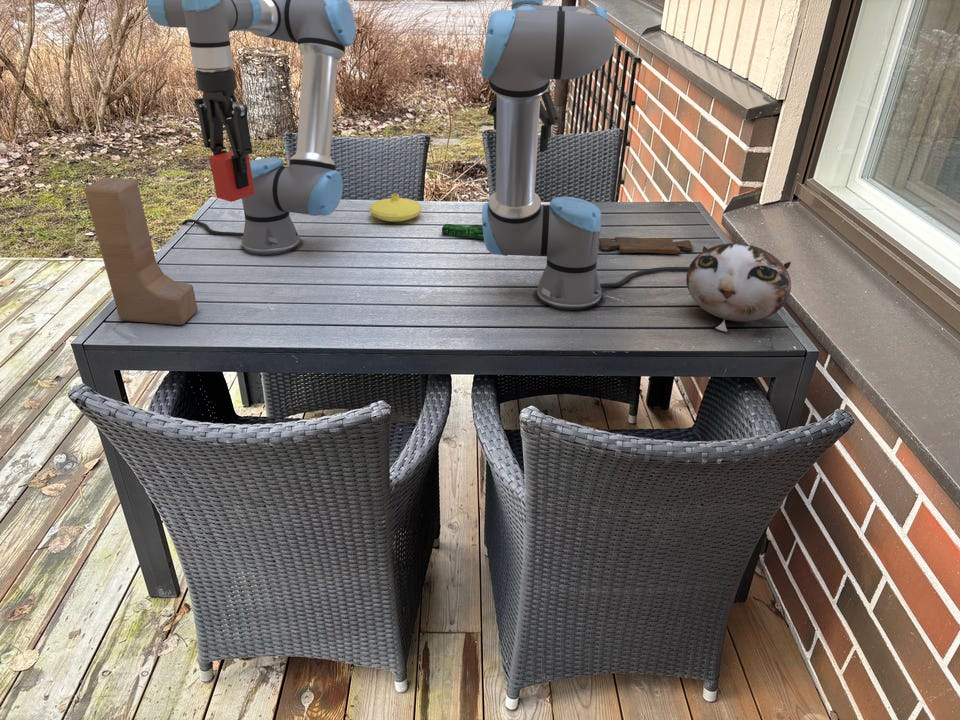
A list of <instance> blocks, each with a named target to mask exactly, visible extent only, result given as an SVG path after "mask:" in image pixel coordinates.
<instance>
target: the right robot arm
mask: <svg viewBox="0 0 960 720" xmlns="http://www.w3.org/2000/svg"><path fill="white" fill-rule="evenodd" d="M510 6H511V8H510V9H501V10H500V9H499V10H495V11H494V10H493V12H492V13H490V15H489V17H488V20H487V26H486V34H485V42H484V48H483V49H484V50H483V55H482V57H483V58H482V66H481V73H480V75H481V77H482V78H484V79H486V80H487V79H488V87H489V89H490V90H491V91H492V92H493V94H494V96H493V98H492V100H491V103H490V105H489V107H488V109H487V115H489V116H492V118H493V130H494V131H495V191H494V192H493V193H492V194H491V195H490V197H489V199H488V202H485V203H483V206H482V211H481V221H482V226H483V236H484V241H483V242H484V246H485V248H486V250H487V252H488V253H490V254H492V255H499V256H505V257H507V256H523V257H546V266H545V268H544V270H543V273H542V275H541V276H540V277H541V278H540V280H539V282H538V285H537V290H536V297H537V299H538V300H539V301H540V302H541V303H542V304H543V305H545V306H548V307H550V308H553V309H558V310H562V311H583V310H588V309H591V308H595V307H596V306H597V305H599V304H600V302H601V301H602V300H601V299H602V289H603V288H616V287H620V286H622V285H624V284H625V283H627V282H628V281H629V280H630V279H632V278H635V277H636V276H641V275H645V274H649V273H657V272H666V271H667V272H669V271H670V272H671V271H683V272H685V271H688V268H689V266H661V267H653V268H646V269H641V270H638V271H635V272H632V273H630V274H628V275H627V276H625V277H624V278H623V279H622V280H620V281H617V282H611V283H609V282H606V283H600V279H599V274H598V270H597V267H598V266H597V264H598V254H599V246H600V244H599V239H600V235H601V234H600V233H601V232H602V212H601V210H600V208H599V207H597V206H596V204H594V203H592V202H590V201H588V200H585V199H582V198H578V197H573V196H555V197H553V198H552V199H551V200H550V202H549V204H542V200H541V198H540V196H539V195H538V193H536V180H537V162H538V146H539V153H543V152H546V151H548V145H549V144H548V143H549V139H551V137H552V126H553V125H557V124H558V123H560V119H559V117H558V113H557V109H556V107H555V104H554V101H553V98H552V96H551V86H550V80H575V79H577V78H578V79H579V78H583V77H585V76H587V75H590V74H593V73H594V72H596V71H597V70H599V69H601V68H602V67H603V66H604V65H606V63H607V62H608V61H609V60H610V58H611V57H612V55H613V54H614V53H613V52H614V49H615V46H616V36H615V32H614V29H613V26H612V25H611V24H610V22H609V21H608V15H607V14H608V13H607V12H608V11H607V9H606V8H605V7H603V6H596V5H590V6H585V5H584V6H583V5H582V6H581V5H580V6H577V5H571V6H570V5H544V0H511V5H510ZM541 100H542V101H541ZM542 102H543V103H542ZM540 120H541V122H542V124H543V125H541V126H540ZM539 127H540V139H539ZM538 144H539V145H538Z"/></svg>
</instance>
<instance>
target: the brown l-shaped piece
mask: <svg viewBox="0 0 960 720" xmlns="http://www.w3.org/2000/svg"><path fill="white" fill-rule="evenodd" d="M83 191H84V194H85V199H86V201H87V206H88V209H89V212H90V217H91V220H92V224H93V227H94V231H95V234H96V238H97V242H98V245H99V249H100V253H101V256H102V260H103V263H104V267H105V270H106V275H107V278H108V283H109V286H110V289H111V292H112V293H111V294H112V297H113V300H114V304H115V308H116V311H117V315H118V318H119V320H120V321H124V322H137V323H150V324H160V325H161V324H162V325H173V326H174V325H175V326H182V325H185V324H186V323H187V322H188V321H189V320H190V319H192V318H193V316H194V315H195V314H196V313H197V312H198V304H197V299H196V293H195V290H194V285H192V283H187V282H182V281H177V280H174V279H172V278H171V277H170V276H167V275H166V274H164V272H163V270H162V269H161V267H160V265H159V264H158V262H157V260H156V257H155V252H154V248H153V245H152V239H151V235H150V231H149V227H148V223H147V218H146V214H145V209H144V206H143V201H142V196H141V192H140V189H139V184H138V181H137V179H133V178H116V177H115V178H114V177H104V178H101V179H99V180H97V181H96V182H93V183H92V184H90V185H87V186H85V187H84V190H83Z"/></svg>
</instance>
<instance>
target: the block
mask: <svg viewBox="0 0 960 720" xmlns="http://www.w3.org/2000/svg"><path fill="white" fill-rule="evenodd" d="M233 155H234V154H233V151H232V150H230V151H227V152H225V153H222V154H218V155H214V156H213V155H211V156H208V157H209V158H208V159H209V165H210V168H211V174H212V180H213V185H214V191H215V196H216V199H220V200H223V201H227V202H230V203H233V202H236V201H239V200H242V198H245V197H248V196H251V195H254V194H255V192H254V186H253V179H252V173H251V166H250V161H251V160H250V154H248V155H246V162H247V169H248V170H247V176H248V182H249V186H246V187H243V188H240V189H238V188H237V187H236V181H235V175H234V169H233V163H232V158H231V156H233Z"/></svg>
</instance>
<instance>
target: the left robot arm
mask: <svg viewBox="0 0 960 720" xmlns="http://www.w3.org/2000/svg"><path fill="white" fill-rule="evenodd" d="M146 5H147V12H148V14H149V16H150V19H151V20H152V21H153V22H154V23H155V24H156V25H158V26H161V27H168V28H183V29H184V28H185V29H186V30H187V35H188V40H189V48H190V54H191V61H192V66H193V67H194V68H195V69H196V70H195V72H194V75H195V76H194V77H195V80H196V87H197V89H198V91H200V92H202V97H199V98H194V100H193V102H194V105H195V107H196V110H197V113H198V114H197V115H198V119H199V124H200V130H201V135H202V141H203V145H204V147H205V148H208V149H210V151H211V153H212V154H213V155H212V156H214V155H218V154H222V153H225V152H228V151H227V150H226V149H227V146H225V145H224V128H225V132H226V136H227V138H228V142H229V144H230V147H231V151H233V154H234V155H233V156H231V158H232V163H233V169H234V175H235V181H236V187H237V188H238V189H240V188H243V187H246V186H249V182H248V176H247V170H248V169H247V162H246V155H248V154H249V155H251V154H253V146H252V145H253V144H252V140H251V139H252V138H251V133H250V126H249V121H248V120H249V119H248V112H249V111H248V110H249V108H248V104H241V103H239V102H238V100H237V98H236V95H235V91H236V89H237V88H238V83H237V77H236V70H235V69H234V68H232V67H234V65H235V64H234V59H233V53H232V46H231V40H230V32H236V31H237V32H249V33H251V34H253V35H254V36H256V37H260V38H269V39H274V40H278V41H282V42H286V43H293V44H297V49H298V50H299V51H300V52H301V54H302V69H301V85H300V97H299V98H300V99H299V111H298V112H299V113H298V123H297V124H298V126H297V140H296V152H295V153H294V155H293V156H291V157H290V158H289V165H288V166H286V165H285V162H284V161H283V159H282V158H281V157H264V158H258V159H253V160H250V166H251V173H252V179H253V186H254V192H255V194H254V195H251V196H248V197H245V198H242V199H241V202H242V203H241V204H242V208H243V212H244V213H243V215H244V219H245V220H244V226H243V228H244V229H243V232H234V231H220V230H213V229H211V228H210V227H209V225H208V224H206V223H205V222H202V221H200V220H196V219H193V218H188V219H185V220H183V221H182V222H181V225H182V226H186V225H187V224H190V223H191V224H195V225H197V226H201V227H202V228H203V227H204V229H205V230H206V232H208V233H209V234H212V235H218V236H230V237H231V236H232V237H241V246H242V249H243V251H244V252H246V253H248V254H252V255H255V256H256V255H257V256H275V255H281V254H282V255H283V254H285V253H289V252H291V251H293V250H296V249H297V248H298V247H299V246H300V244H301V241H300V235H299V233H298V231H297V229H296V227H295V225H294V223H293V220H292V218H291V216H290V213H293V214H302V215H309V216H314V217H317V216H323V217H325V216H329V215H331V214H333V213H334V212H335V211H336V209H337V208H339V207H338V206H339V205H340V203H341V201H342V197H343V190H344V182H343V177H342V175H341V173H340V172H339V171H337V170H336V166H337V164H336V162H335V161H333V159H332V157H331V155H332V143H333V132H334V131H333V130H334V116H335V103H336V94H337V93H336V91H337V80H338V79H337V78H338V66H339V61H340V60H341V59H343V58H344V57H345V56H346V55H345V54H346V47H350V46H352V45H353V44H354V41H355V39H356V33H357V32H356V20H355V15H354V11H353V9H352V6H351V5H350V2H349V1H348V0H146ZM193 222H194V223H193Z"/></svg>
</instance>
